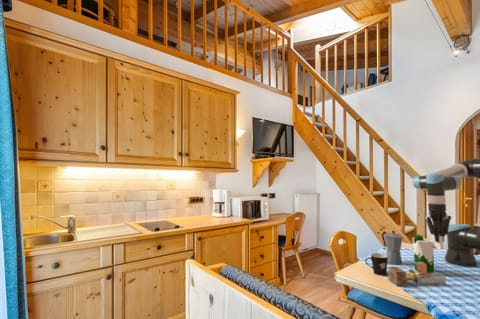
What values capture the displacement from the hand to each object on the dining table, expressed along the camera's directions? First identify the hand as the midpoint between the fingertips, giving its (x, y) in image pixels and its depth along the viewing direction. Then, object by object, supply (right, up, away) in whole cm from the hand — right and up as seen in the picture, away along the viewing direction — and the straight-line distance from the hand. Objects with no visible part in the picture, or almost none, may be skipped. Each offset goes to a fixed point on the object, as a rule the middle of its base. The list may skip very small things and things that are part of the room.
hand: (440, 248), depth 143 cm
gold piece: (-17, -16, -2) cm, 23 cm away
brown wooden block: (-24, -17, -2) cm, 29 cm away
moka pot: (-9, -18, +28) cm, 35 cm away
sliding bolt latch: (-8, -17, -2) cm, 19 cm away
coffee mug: (-27, -18, +12) cm, 35 cm away
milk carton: (0, -17, +12) cm, 21 cm away
